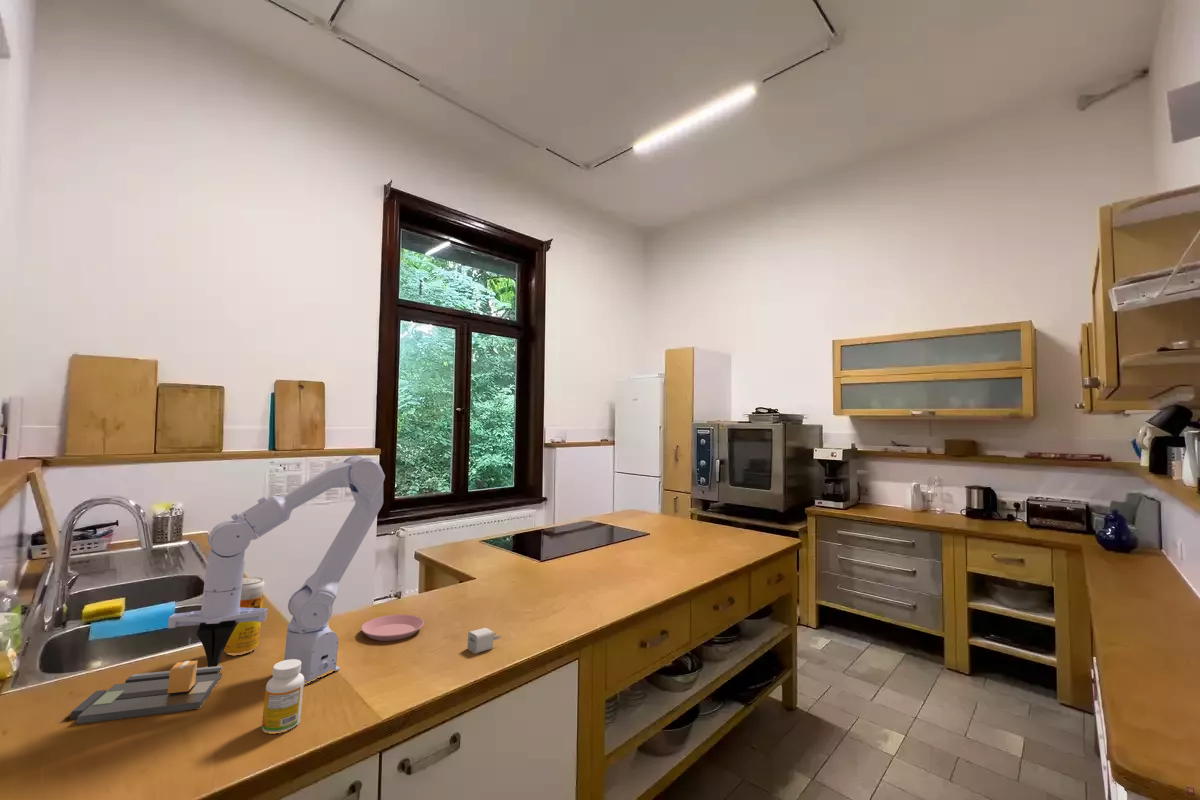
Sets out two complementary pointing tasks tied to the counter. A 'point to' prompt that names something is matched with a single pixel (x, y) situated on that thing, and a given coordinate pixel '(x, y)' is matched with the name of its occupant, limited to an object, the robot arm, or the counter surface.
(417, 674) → the counter surface
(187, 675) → the cardboard box
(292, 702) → the supplement bottle
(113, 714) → the panel
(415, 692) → the counter surface
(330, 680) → the counter surface
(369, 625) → the plate
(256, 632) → the beer can
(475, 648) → the usb wall charger
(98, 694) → the flat board
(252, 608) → the robot arm
